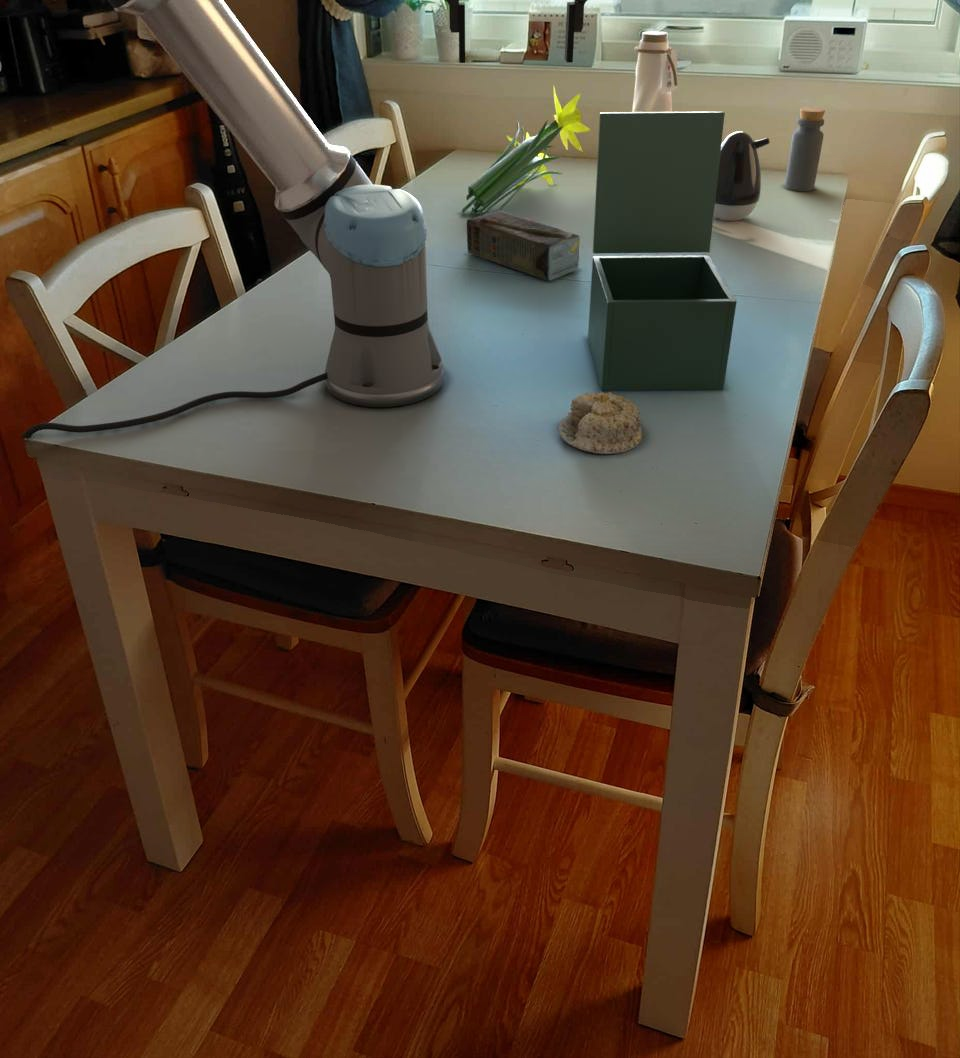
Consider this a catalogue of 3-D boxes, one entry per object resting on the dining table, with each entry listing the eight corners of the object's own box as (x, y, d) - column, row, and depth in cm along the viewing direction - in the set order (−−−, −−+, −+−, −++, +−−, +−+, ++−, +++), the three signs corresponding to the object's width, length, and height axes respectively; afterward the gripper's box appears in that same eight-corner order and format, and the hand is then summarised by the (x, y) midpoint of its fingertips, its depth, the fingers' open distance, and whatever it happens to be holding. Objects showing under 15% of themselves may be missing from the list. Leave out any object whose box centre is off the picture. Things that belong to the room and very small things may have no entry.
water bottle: (676, 180, 205) (692, 32, 189) (659, 191, 199) (674, 38, 183) (631, 173, 209) (643, 28, 193) (613, 183, 203) (624, 34, 187)
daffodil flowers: (431, 211, 191) (527, 127, 208) (489, 258, 191) (580, 171, 208) (454, 147, 176) (555, 63, 193) (517, 198, 176) (613, 110, 193)
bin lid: (724, 112, 122) (723, 111, 123) (600, 113, 122) (599, 112, 123) (709, 252, 131) (708, 251, 132) (593, 253, 131) (592, 252, 132)
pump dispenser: (756, 227, 179) (770, 140, 170) (699, 222, 181) (709, 136, 173) (758, 211, 187) (771, 127, 178) (703, 207, 189) (713, 124, 181)
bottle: (778, 185, 202) (791, 107, 193) (803, 182, 203) (817, 105, 195) (794, 192, 197) (808, 113, 189) (819, 190, 199) (834, 111, 190)
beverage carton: (547, 283, 156) (548, 242, 152) (464, 255, 167) (463, 216, 163) (580, 270, 160) (582, 230, 157) (497, 244, 172) (497, 206, 168)
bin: (723, 389, 125) (736, 301, 118) (601, 390, 124) (607, 302, 118) (697, 337, 138) (708, 255, 132) (587, 338, 138) (592, 256, 131)
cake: (628, 415, 120) (635, 375, 117) (652, 456, 112) (660, 415, 109) (549, 415, 118) (555, 374, 115) (568, 457, 110) (574, 415, 107)
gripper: (622, -141, 116) (608, 55, 128) (411, -141, 115) (418, 56, 127) (632, -141, 110) (617, 65, 122) (410, -141, 109) (417, 66, 121)
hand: (515, 61), depth 125 cm, fingers open, 13 cm apart
